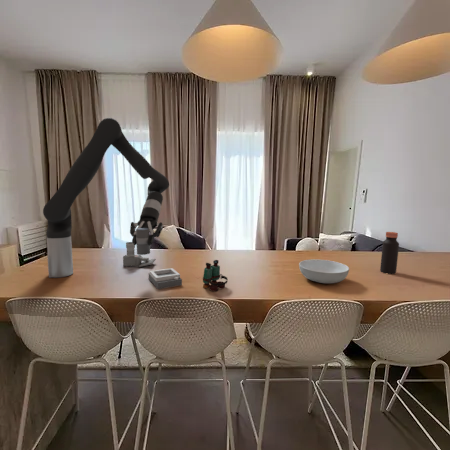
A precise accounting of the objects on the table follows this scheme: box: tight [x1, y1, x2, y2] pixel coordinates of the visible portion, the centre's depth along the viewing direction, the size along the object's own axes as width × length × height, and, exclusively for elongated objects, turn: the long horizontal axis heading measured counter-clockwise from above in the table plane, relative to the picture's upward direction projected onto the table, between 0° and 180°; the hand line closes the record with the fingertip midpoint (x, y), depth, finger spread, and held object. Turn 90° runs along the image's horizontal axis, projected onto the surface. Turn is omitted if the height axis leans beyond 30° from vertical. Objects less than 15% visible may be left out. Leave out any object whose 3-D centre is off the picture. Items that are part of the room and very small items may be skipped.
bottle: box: [379, 231, 400, 275], centre depth 132 cm, size 7×7×20 cm
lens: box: [135, 227, 151, 256], centre depth 111 cm, size 6×6×10 cm
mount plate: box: [148, 267, 183, 290], centre depth 114 cm, size 10×14×4 cm
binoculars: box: [202, 259, 229, 292], centre depth 107 cm, size 9×11×10 cm
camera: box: [122, 241, 156, 268], centre depth 137 cm, size 9×12×15 cm
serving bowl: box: [298, 258, 350, 284], centre depth 120 cm, size 21×21×7 cm
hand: (141, 244), depth 109 cm, fingers closed on lens, 5 cm apart
